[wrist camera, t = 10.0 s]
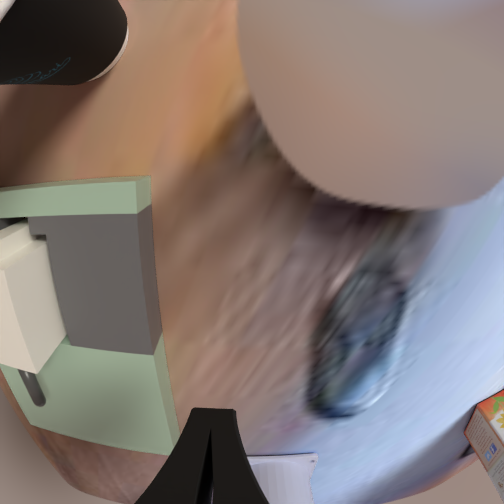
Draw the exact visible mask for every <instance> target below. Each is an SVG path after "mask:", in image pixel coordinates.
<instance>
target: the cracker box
mask: <svg viewBox="0 0 504 504" xmlns="http://www.w3.org/2000/svg"><path fill="white" fill-rule="evenodd" d="M464 435H465V436H466V438H467V439H468V441H469V443H470V444H471V446H472V448H473V449H474V451H475V453H476V454H477V456H478V458H479V460H480V461H481V463H482V465H483V466H484V468H485V470H486V472H487V473H488V475H489V477H490V478H491V480H492V482H493V484H494V486H495V488H496V489H497V491H498V493H499V495H500V497H501V499H502V501H503V503H504V390H502V391H501V392H499V393H497V394H495V395H494V396H492V397H490V398H488V399H486V400H484V401H482V402H481V403H479V404H477V406H476V408H475V410H474V413H473V415H472V417H471V419H470V421H469V423H468V425H467V427H466V429H465V431H464Z"/></svg>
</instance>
